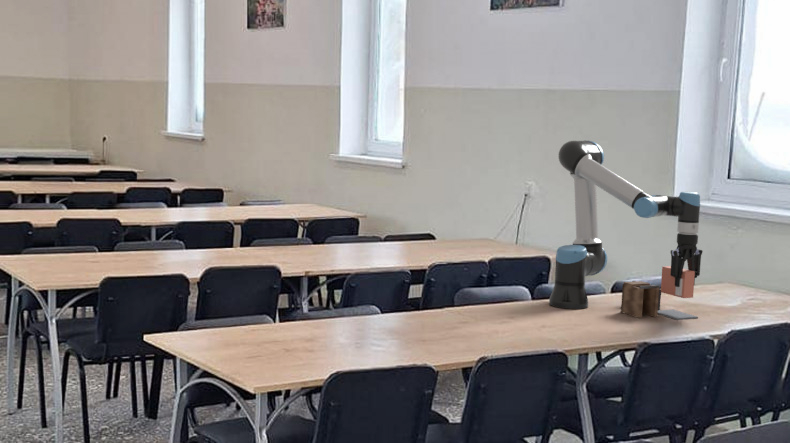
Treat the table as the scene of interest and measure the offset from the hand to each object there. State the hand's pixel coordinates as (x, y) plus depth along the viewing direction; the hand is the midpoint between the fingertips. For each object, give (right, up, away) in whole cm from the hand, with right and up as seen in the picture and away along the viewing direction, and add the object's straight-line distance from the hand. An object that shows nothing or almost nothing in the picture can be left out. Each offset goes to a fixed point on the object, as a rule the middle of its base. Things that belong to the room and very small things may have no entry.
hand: (683, 294), depth 369 cm
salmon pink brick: (-2, 0, +4) cm, 4 cm away
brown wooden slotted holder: (-16, -8, +4) cm, 18 cm away
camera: (-8, -7, +20) cm, 23 cm away
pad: (-2, -8, +5) cm, 10 cm away
